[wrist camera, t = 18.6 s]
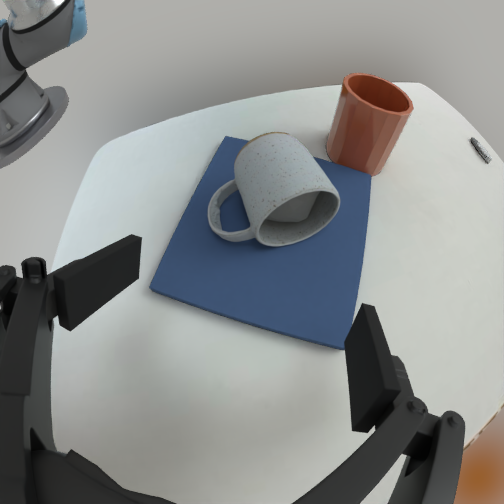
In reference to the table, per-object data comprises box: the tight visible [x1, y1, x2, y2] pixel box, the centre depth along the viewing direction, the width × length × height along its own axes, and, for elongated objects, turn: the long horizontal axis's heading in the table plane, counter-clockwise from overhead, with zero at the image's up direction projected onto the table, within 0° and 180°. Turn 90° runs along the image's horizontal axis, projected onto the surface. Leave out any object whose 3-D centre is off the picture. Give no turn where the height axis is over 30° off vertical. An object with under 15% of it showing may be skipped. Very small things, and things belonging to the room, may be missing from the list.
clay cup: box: [326, 73, 414, 176], centre depth 29 cm, size 8×8×10 cm
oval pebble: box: [471, 138, 492, 163], centre depth 36 cm, size 6×2×1 cm, turn 10°
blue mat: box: [149, 136, 371, 350], centre depth 28 cm, size 18×20×1 cm
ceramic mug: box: [208, 132, 340, 246], centre depth 24 cm, size 11×8×8 cm
